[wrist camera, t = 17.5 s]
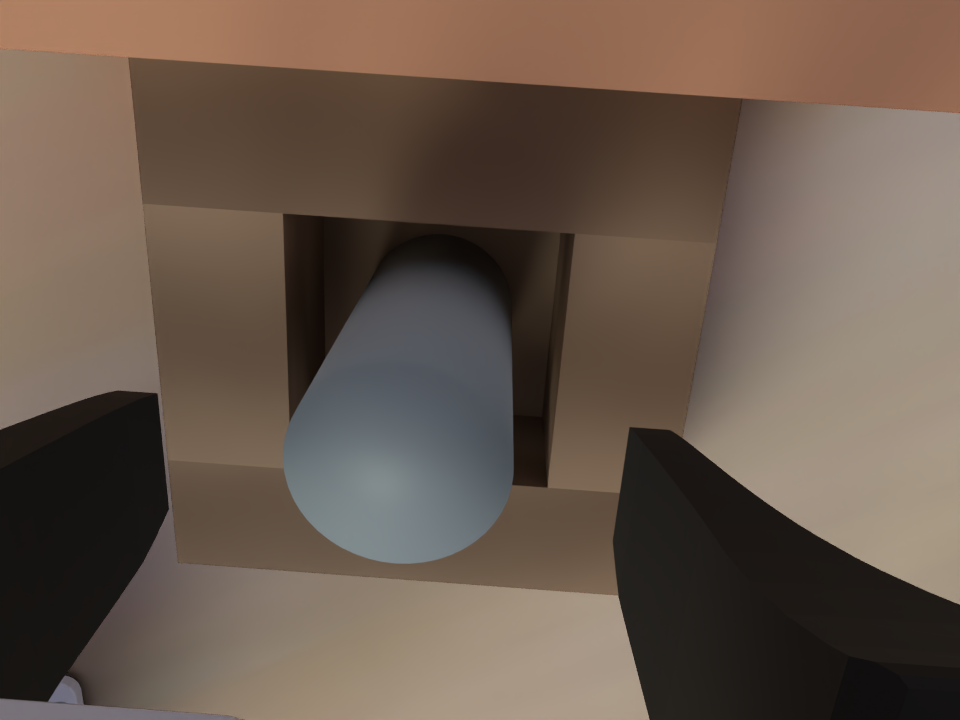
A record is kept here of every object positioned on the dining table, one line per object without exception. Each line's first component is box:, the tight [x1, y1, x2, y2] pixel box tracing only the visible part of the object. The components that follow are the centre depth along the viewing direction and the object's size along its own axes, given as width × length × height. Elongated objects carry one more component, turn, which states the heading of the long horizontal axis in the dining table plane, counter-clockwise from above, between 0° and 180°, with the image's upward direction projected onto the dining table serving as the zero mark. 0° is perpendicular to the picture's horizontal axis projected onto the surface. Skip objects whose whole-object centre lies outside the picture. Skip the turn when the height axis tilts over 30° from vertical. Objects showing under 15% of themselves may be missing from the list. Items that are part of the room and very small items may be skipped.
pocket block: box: [129, 57, 742, 595], centre depth 18 cm, size 11×11×4 cm
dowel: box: [283, 234, 514, 564], centre depth 16 cm, size 4×4×8 cm
